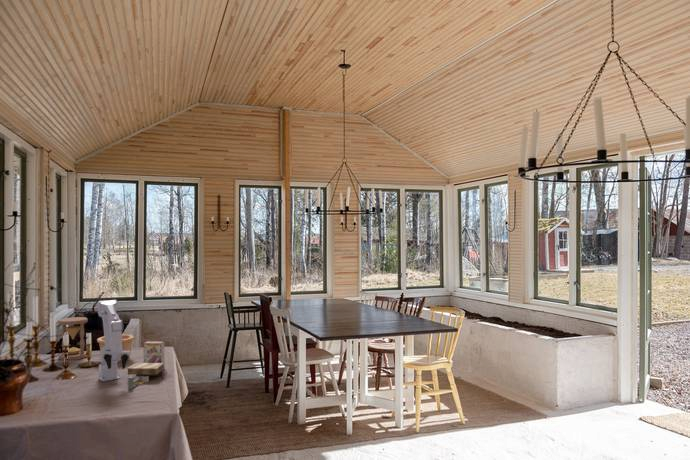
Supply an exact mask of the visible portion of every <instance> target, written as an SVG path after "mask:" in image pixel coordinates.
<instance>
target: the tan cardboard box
mask: <svg viewBox="0 0 690 460" xmlns="http://www.w3.org/2000/svg"><path fill="white" fill-rule="evenodd" d="M164 364H166V363H144V362H136V363H133V364H132V365H130V366H128V367H127V368H126V370H127V375H133V376H134V375H136V376H149V377H163V376H164V369H165V368H164Z"/></svg>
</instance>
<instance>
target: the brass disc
mask: <svg viewBox="0 0 690 460" xmlns="http://www.w3.org/2000/svg"><path fill="white" fill-rule="evenodd" d="M144 383H145V382H144V381H138V382H137V383H135V384H134V385H143V384H144Z"/></svg>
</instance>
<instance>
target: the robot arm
mask: <svg viewBox="0 0 690 460" xmlns="http://www.w3.org/2000/svg"><path fill="white" fill-rule="evenodd" d="M117 310H118V301H117V299H110V300H98V302H97V314H98V317H100V318H101V320H102V327H103V337H104V339H105V346H104V347H103V348H102V349H101V351H99V358H100V363H101V364H99V365H98V380H100V381H101V382H107V381H113V380H118V379H119V380H120V376H118V363H117V362H118V361H119V360H120V355H123V356H121V359H122V362H121V369H122V370H124V369H126V364H127V362H128V360H127V359H128V357H129V355H130V356H131V354H132V353H130V351H123V350H122V335H123V331H124V323H123V320H122V319H120V316H119V314H118V313H117Z"/></svg>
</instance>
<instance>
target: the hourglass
mask: <svg viewBox="0 0 690 460" xmlns="http://www.w3.org/2000/svg"><path fill="white" fill-rule="evenodd" d="M88 320H89V319H88V318H87V317H86V316H84V317H83V316H75V317H73V316H72V317H65V318H61V319H58V321H57V323H58V325H61V328H62V329H61V335H62V337H63V335H64V333H65V332H66V333H67V334H69V336H70V337H71V340H75V337H76V335H77V334H78V333H79V337H80V341H79V348H78V347H75V346H72V347H70V348H68V349H67V350H68V356H67V357H68V360H67V361H75V360H81V359H84V358H85V359H86V358H87V357H86V352H87V351H86V350H85V343H86V342H85V340H84V337H85V323H88ZM69 325H70V326H69ZM61 346H62V348H63V339H62V341H61ZM63 353H64V352H63V351H62V353H60V354H58V360H61V361H65V360H64V354H63Z"/></svg>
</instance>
